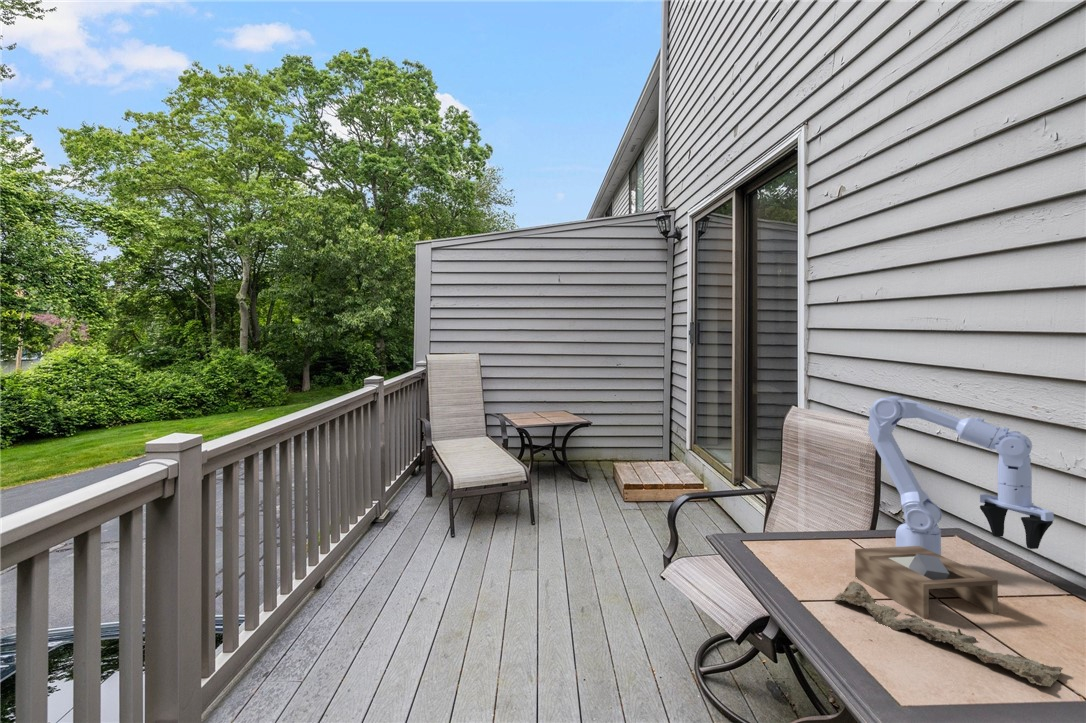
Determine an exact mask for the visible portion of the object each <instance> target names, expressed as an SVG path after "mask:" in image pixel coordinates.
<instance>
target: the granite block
mask: <svg viewBox="0 0 1086 723" xmlns="http://www.w3.org/2000/svg"><path fill="white" fill-rule="evenodd" d="M909 568H910V569H911V570H913V571H915V572H917V573H919V574H921V575H923V576H925V577H927V578H929V579H931V580H946V578H947V577H948V575H949V572H948V571H947V569H946V568H945V566H944V565H943V563H942V562H941V560H940V559H939V557H936V556H929V555H922V554H916V556H915V557H914V559H913V560H912V562H911V564H910V565H909Z"/></svg>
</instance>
